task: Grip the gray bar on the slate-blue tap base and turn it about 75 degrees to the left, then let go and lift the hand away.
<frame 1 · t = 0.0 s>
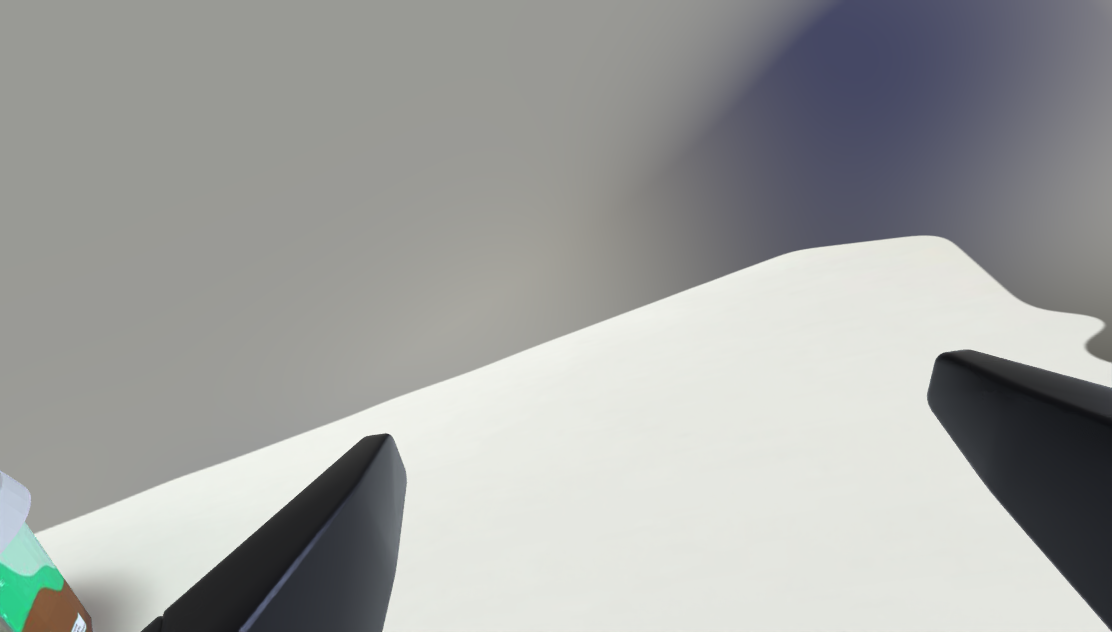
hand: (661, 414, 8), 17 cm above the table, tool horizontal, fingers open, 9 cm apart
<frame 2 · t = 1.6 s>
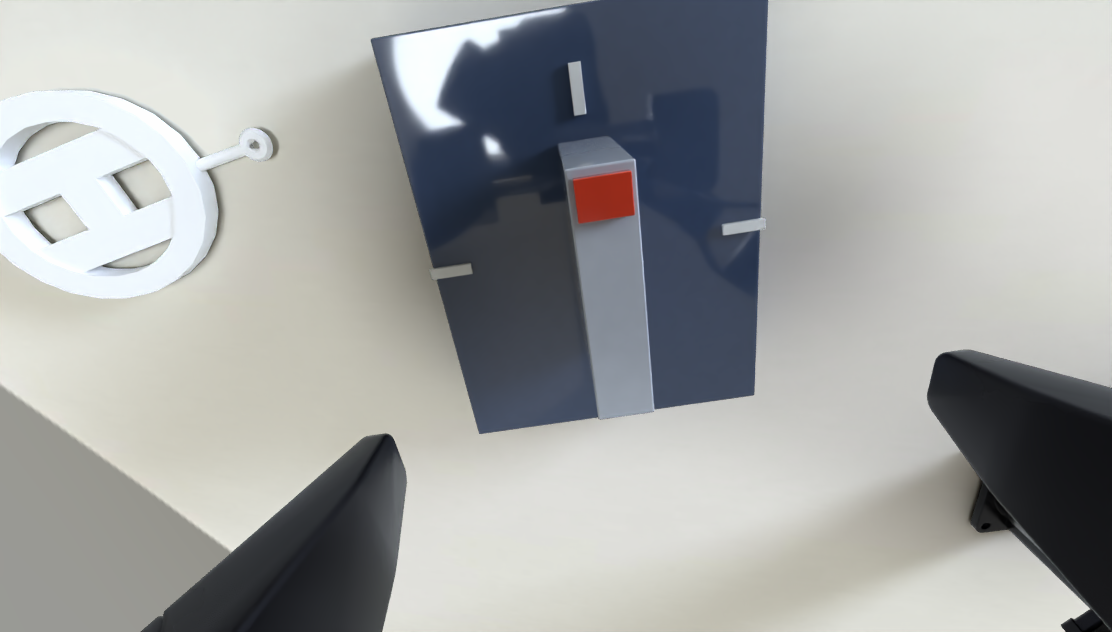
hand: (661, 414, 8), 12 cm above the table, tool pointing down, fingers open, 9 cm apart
gray bar: (604, 275, 14), point 5 cm above the table, hinge at 0.0°
pendant: (139, 184, 18), on the table
tap base: (587, 223, 19), on the table
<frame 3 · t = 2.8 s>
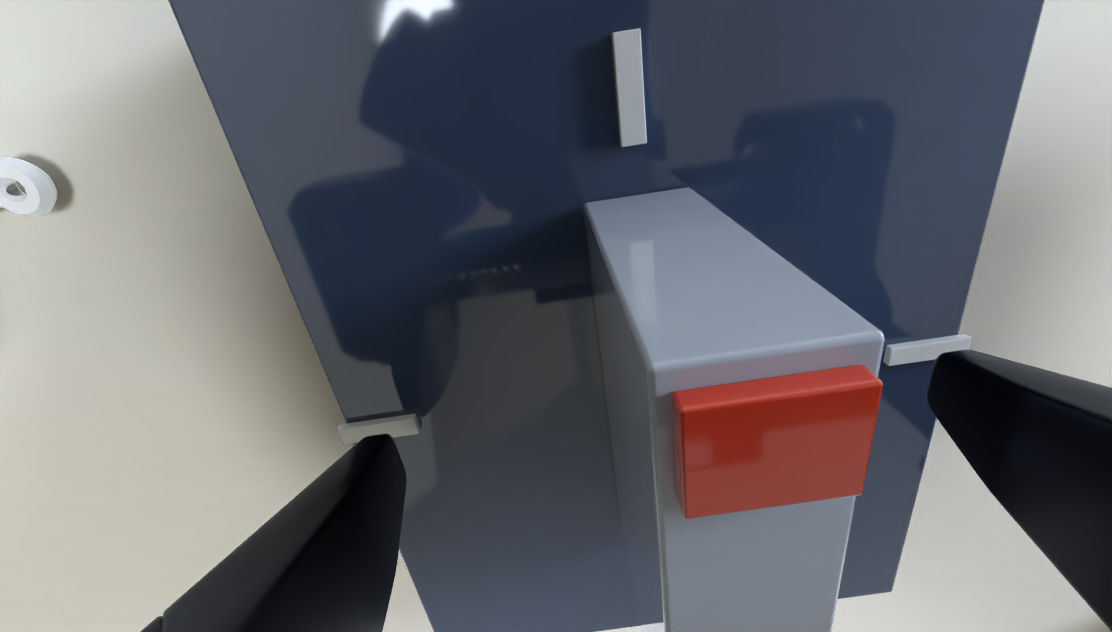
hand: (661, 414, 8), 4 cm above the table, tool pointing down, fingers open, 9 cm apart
gray bar: (687, 490, 7), point 5 cm above the table, hinge at 0.0°
tap base: (621, 313, 12), on the table
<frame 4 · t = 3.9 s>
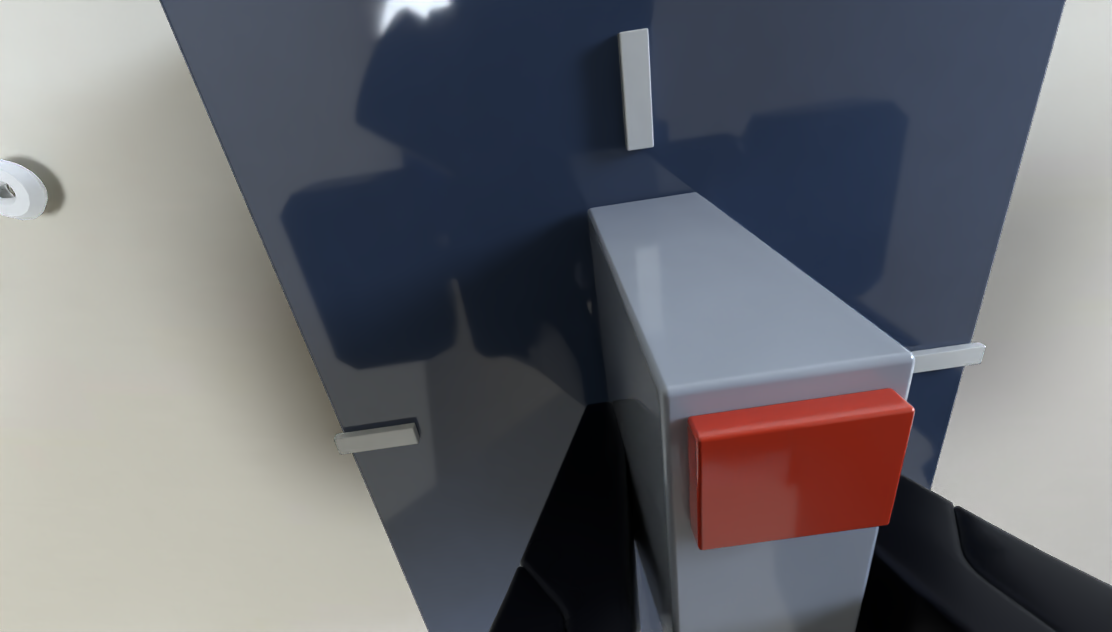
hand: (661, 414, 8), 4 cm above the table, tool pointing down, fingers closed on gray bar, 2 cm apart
gray bar: (695, 505, 7), point 5 cm above the table, hinge at 0.1°, touching gripper
tap base: (624, 318, 11), on the table
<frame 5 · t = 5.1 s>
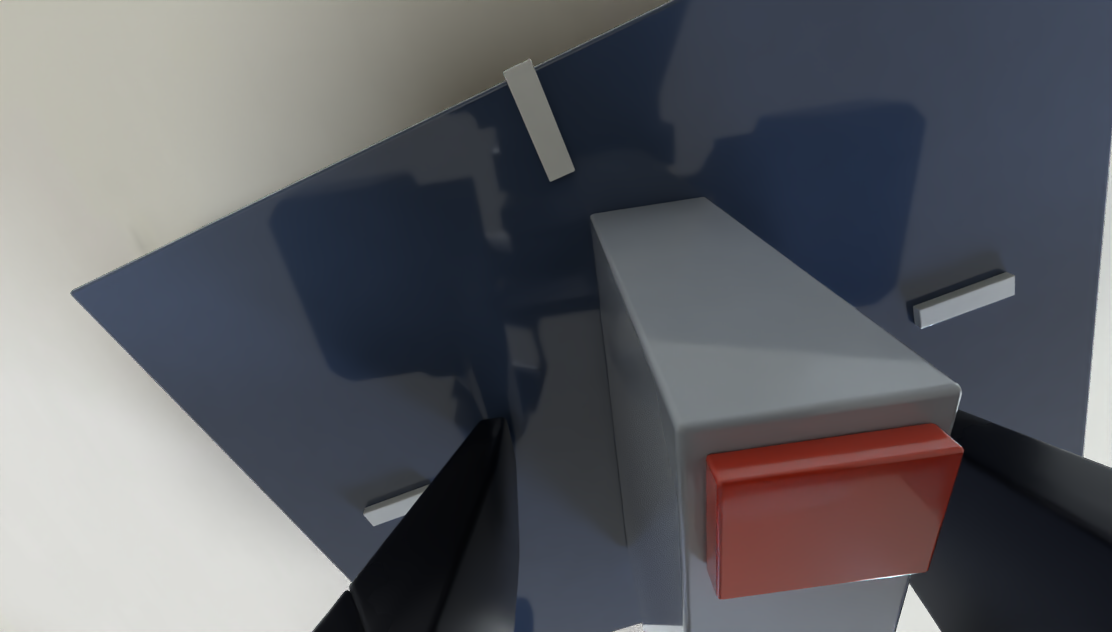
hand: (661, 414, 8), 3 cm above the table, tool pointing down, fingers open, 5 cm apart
gray bar: (704, 527, 6), point 5 cm above the table, hinge at 74.9°
tap base: (627, 325, 11), on the table
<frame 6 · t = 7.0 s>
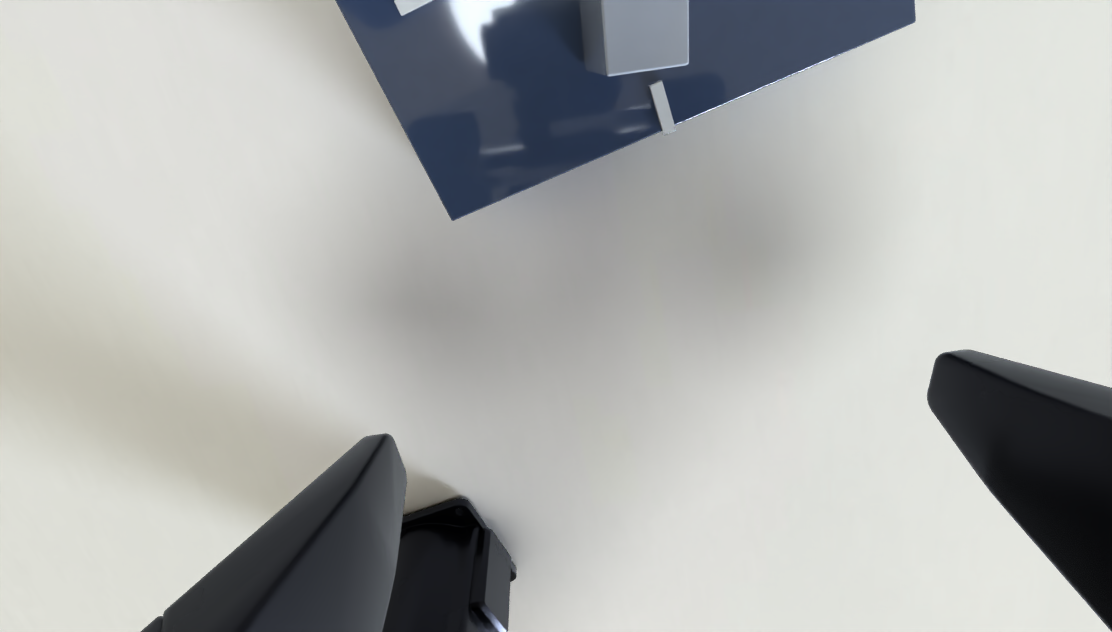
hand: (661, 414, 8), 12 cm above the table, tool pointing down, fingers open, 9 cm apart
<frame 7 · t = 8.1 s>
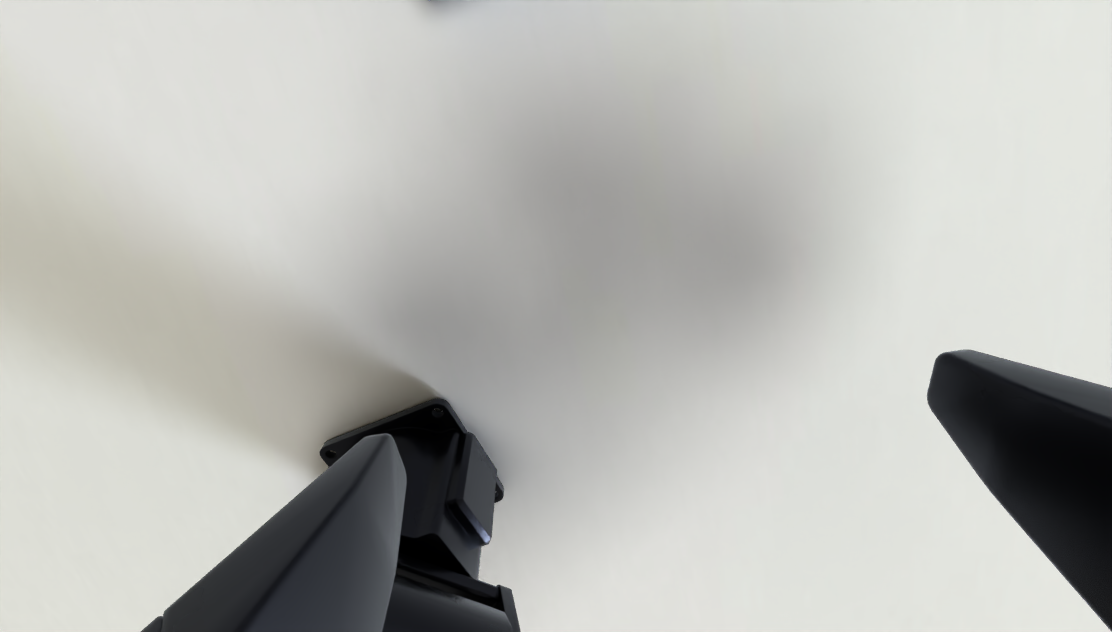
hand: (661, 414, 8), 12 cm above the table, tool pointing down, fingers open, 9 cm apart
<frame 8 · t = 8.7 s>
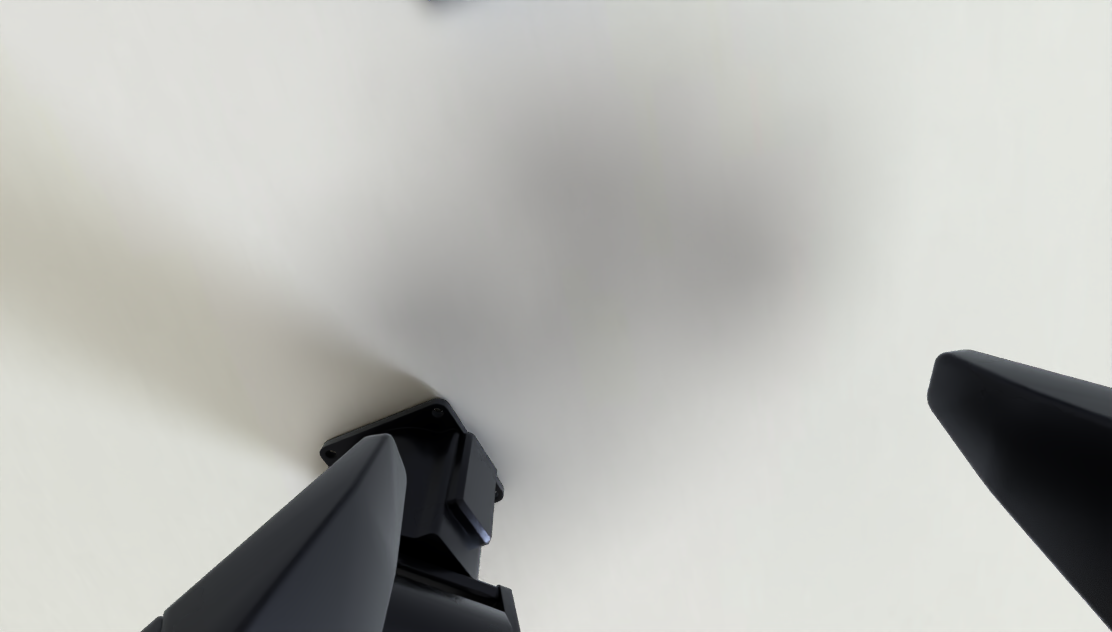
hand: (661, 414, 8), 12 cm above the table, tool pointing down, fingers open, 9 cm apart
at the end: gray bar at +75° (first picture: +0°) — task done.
